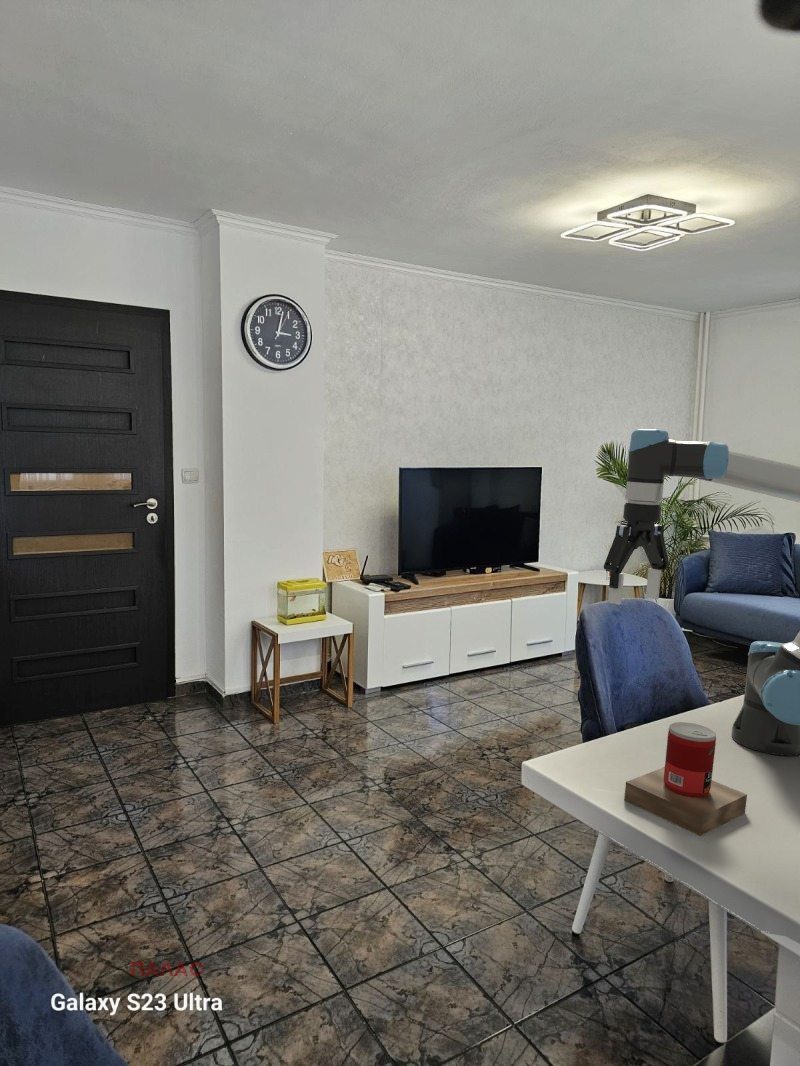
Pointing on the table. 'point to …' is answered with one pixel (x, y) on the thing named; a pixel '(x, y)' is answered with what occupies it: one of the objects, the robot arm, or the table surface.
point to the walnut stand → (685, 803)
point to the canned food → (689, 759)
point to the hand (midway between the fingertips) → (633, 600)
